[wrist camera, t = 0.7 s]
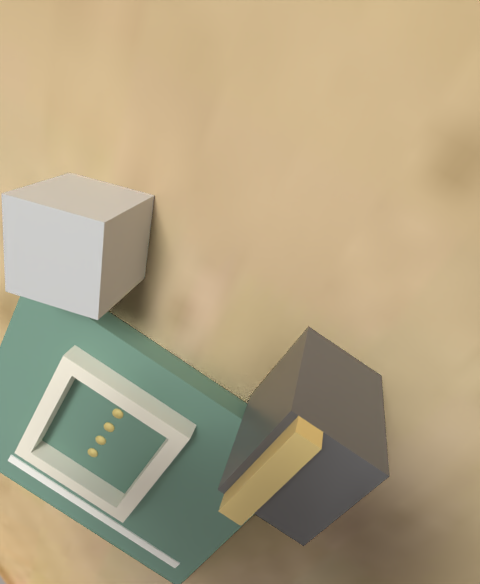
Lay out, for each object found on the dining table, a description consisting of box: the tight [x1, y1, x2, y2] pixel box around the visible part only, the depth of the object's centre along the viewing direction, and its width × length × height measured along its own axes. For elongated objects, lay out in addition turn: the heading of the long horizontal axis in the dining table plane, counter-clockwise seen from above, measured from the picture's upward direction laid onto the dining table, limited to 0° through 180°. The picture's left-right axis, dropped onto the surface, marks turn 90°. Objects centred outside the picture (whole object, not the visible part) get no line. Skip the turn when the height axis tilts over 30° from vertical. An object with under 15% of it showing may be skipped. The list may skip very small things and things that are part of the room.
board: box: [0, 296, 254, 584], centre depth 25 cm, size 16×14×2 cm
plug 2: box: [218, 326, 389, 546], centre depth 19 cm, size 4×5×7 cm
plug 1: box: [2, 173, 155, 320], centre depth 19 cm, size 4×4×4 cm
